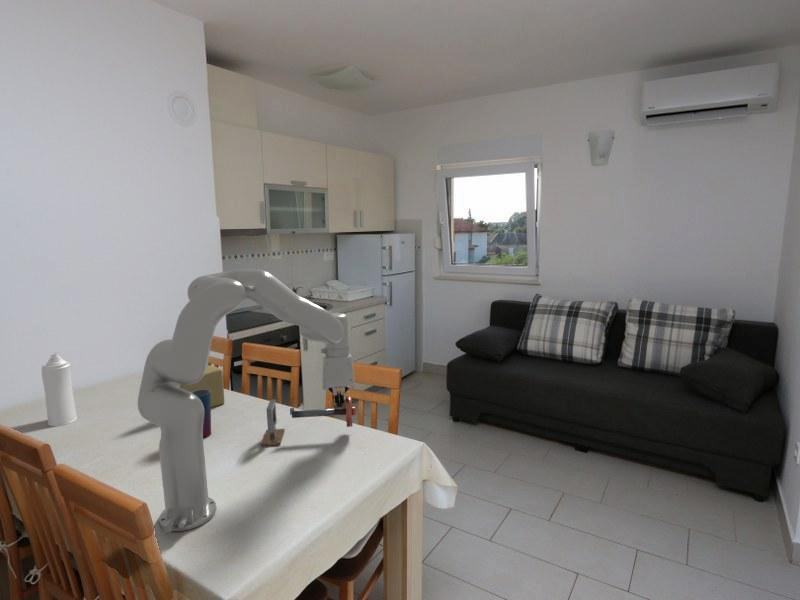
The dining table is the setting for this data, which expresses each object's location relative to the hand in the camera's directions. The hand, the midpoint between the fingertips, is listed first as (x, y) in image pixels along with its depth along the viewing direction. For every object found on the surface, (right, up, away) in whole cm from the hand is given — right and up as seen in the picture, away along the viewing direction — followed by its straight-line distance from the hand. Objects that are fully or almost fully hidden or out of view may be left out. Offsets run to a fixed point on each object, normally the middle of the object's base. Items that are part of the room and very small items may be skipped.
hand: (339, 405), depth 153 cm
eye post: (-22, -11, -1) cm, 24 cm away
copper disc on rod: (-5, -7, +1) cm, 9 cm away
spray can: (-104, -9, +18) cm, 106 cm away
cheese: (-59, -8, +24) cm, 64 cm away
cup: (-46, -11, +3) cm, 48 cm away
